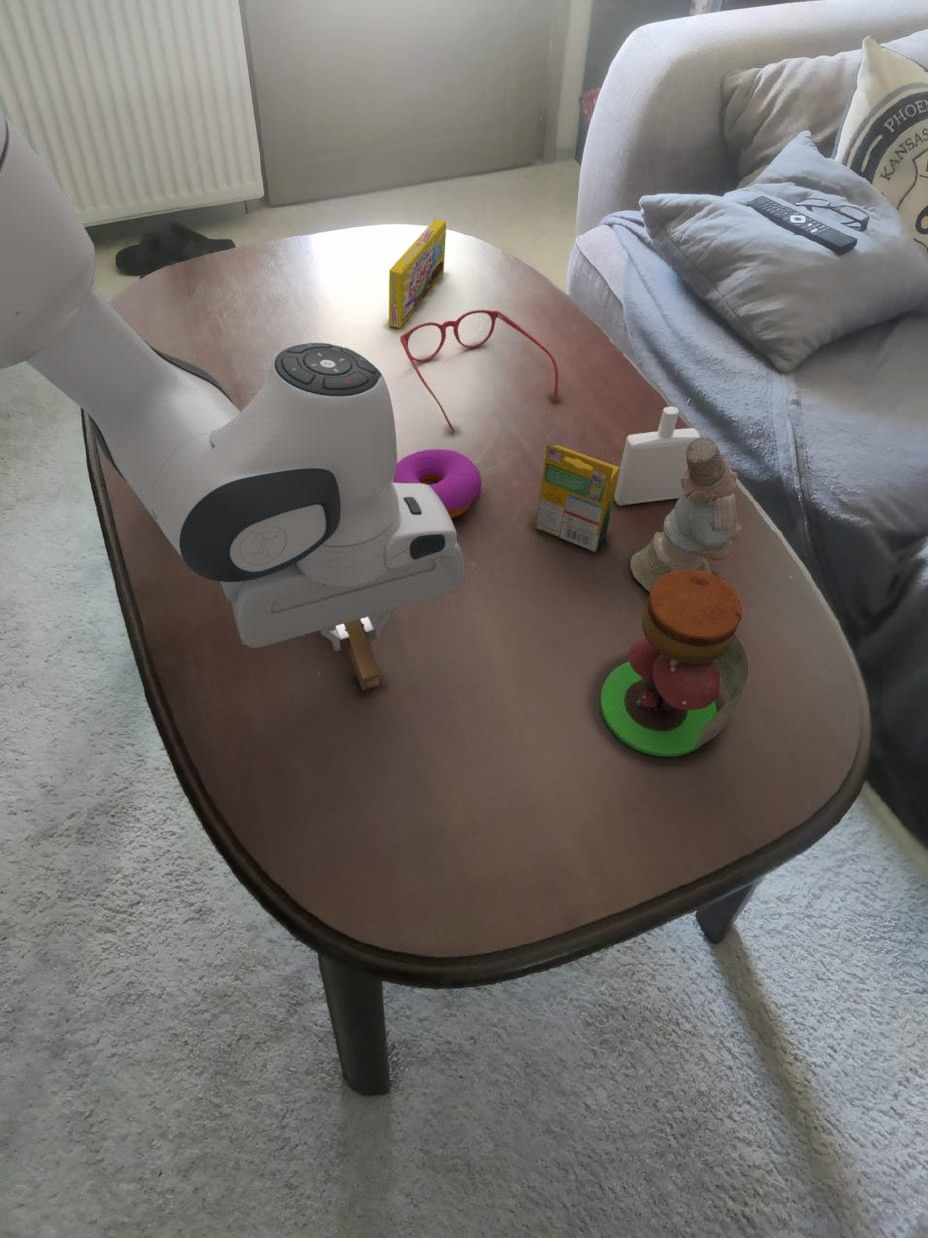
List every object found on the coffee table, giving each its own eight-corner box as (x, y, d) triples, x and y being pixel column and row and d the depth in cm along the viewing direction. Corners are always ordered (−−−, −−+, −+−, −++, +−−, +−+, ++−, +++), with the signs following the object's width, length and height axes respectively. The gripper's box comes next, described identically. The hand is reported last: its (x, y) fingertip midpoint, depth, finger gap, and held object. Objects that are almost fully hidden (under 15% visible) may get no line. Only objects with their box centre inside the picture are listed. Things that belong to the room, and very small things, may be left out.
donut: (467, 464, 101) (468, 433, 97) (491, 523, 95) (493, 492, 91) (380, 477, 99) (378, 445, 96) (399, 539, 93) (397, 507, 89)
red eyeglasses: (502, 334, 119) (505, 301, 115) (565, 398, 110) (570, 364, 106) (387, 365, 113) (386, 331, 109) (443, 435, 104) (444, 401, 100)
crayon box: (606, 536, 94) (625, 452, 85) (595, 553, 92) (613, 469, 84) (546, 512, 96) (558, 428, 87) (534, 528, 95) (545, 444, 86)
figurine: (638, 610, 88) (683, 455, 72) (624, 550, 93) (664, 394, 78) (724, 609, 88) (787, 455, 73) (706, 549, 93) (761, 394, 78)
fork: (349, 694, 79) (350, 682, 77) (294, 533, 86) (292, 517, 83) (391, 682, 81) (392, 670, 78) (333, 524, 87) (333, 507, 85)
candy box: (402, 330, 119) (400, 273, 112) (387, 326, 119) (385, 269, 113) (445, 275, 128) (447, 219, 122) (432, 272, 129) (433, 216, 122)
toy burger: (605, 773, 75) (638, 672, 64) (587, 658, 83) (613, 549, 72) (739, 771, 76) (795, 670, 64) (708, 657, 84) (753, 548, 72)
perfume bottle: (617, 507, 97) (637, 420, 88) (612, 495, 98) (631, 408, 89) (684, 498, 98) (711, 412, 89) (678, 487, 100) (703, 400, 90)
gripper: (224, 594, 65) (253, 699, 76) (475, 528, 70) (469, 634, 81) (207, 539, 69) (237, 645, 79) (446, 480, 74) (444, 587, 85)
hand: (356, 639), depth 80 cm, fingers closed on fork
